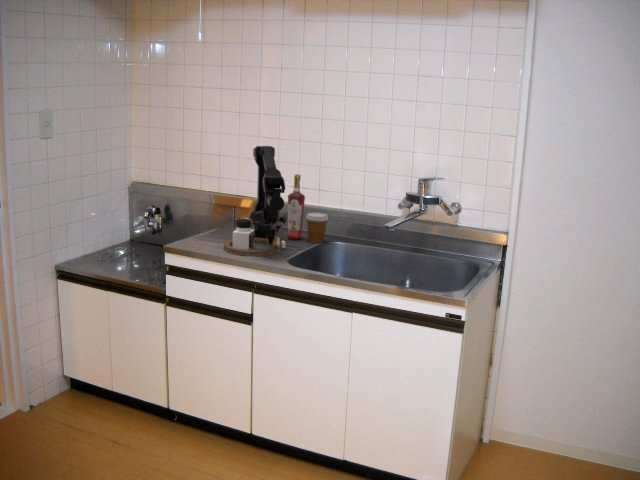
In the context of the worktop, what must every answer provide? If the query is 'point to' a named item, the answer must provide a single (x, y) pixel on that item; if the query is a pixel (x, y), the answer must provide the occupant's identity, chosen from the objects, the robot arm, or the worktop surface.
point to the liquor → (295, 211)
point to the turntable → (254, 253)
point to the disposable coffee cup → (316, 227)
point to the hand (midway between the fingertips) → (270, 243)
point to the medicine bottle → (243, 234)
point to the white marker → (283, 244)
